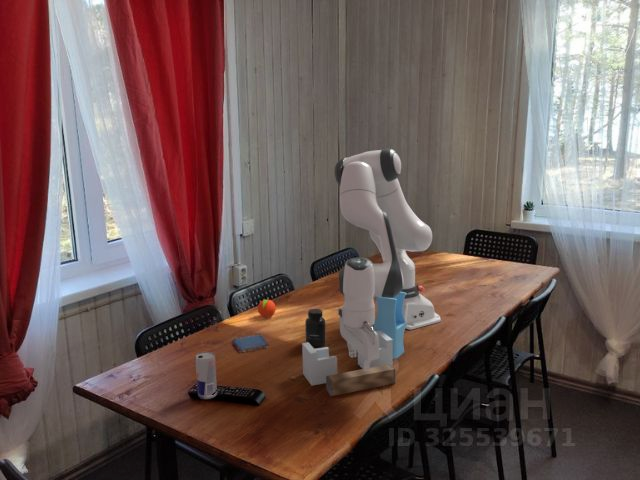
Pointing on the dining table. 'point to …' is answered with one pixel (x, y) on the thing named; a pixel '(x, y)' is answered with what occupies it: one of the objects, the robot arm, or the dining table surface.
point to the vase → (391, 320)
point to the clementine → (266, 308)
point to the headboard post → (381, 351)
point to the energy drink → (206, 375)
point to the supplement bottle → (315, 328)
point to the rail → (360, 379)
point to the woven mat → (250, 343)
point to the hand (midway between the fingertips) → (359, 362)
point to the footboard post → (317, 364)
